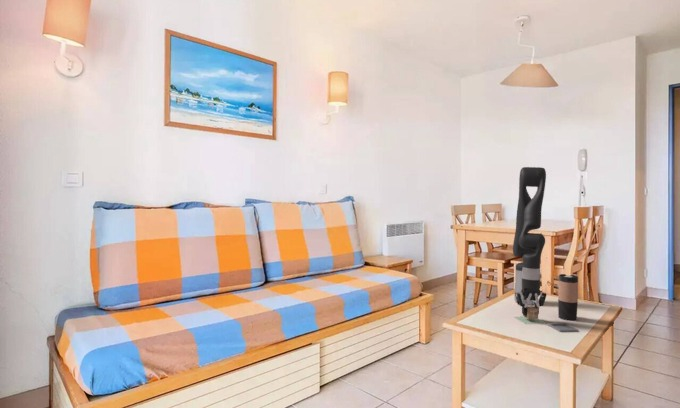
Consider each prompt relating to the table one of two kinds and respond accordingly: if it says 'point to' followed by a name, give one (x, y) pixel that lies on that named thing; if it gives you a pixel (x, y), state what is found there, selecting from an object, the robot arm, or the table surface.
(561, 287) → the travel mug
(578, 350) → the table surface
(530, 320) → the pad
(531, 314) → the letter cube
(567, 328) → the tray
